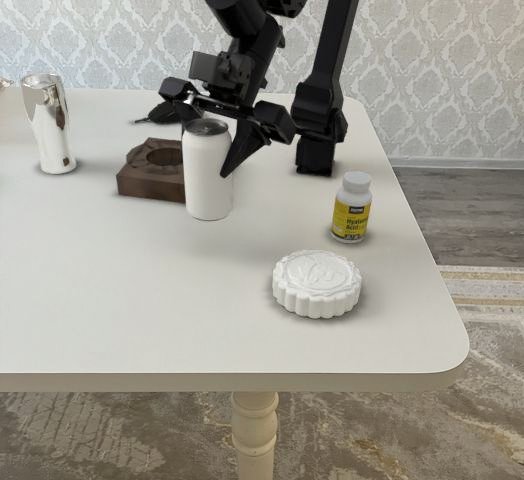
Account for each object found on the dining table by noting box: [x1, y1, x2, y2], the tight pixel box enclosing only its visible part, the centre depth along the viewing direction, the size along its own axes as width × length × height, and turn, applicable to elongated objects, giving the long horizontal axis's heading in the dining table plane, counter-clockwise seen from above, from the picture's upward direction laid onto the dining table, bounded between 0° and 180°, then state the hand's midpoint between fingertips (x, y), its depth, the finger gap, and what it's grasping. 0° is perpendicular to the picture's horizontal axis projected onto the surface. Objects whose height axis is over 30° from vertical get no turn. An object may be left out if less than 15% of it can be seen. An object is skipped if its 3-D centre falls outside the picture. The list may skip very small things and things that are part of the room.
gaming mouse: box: [134, 100, 181, 125], centre depth 123 cm, size 6×15×4 cm, turn 113°
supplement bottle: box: [330, 170, 373, 244], centre depth 89 cm, size 5×5×10 cm
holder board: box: [115, 136, 186, 205], centre depth 103 cm, size 17×16×4 cm
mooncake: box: [271, 249, 363, 319], centre depth 80 cm, size 12×12×4 cm
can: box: [182, 117, 233, 222], centre depth 79 cm, size 6×6×12 cm
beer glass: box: [19, 72, 77, 175], centre depth 101 cm, size 7×7×15 cm
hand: (201, 170), depth 78 cm, fingers closed on can, 6 cm apart
